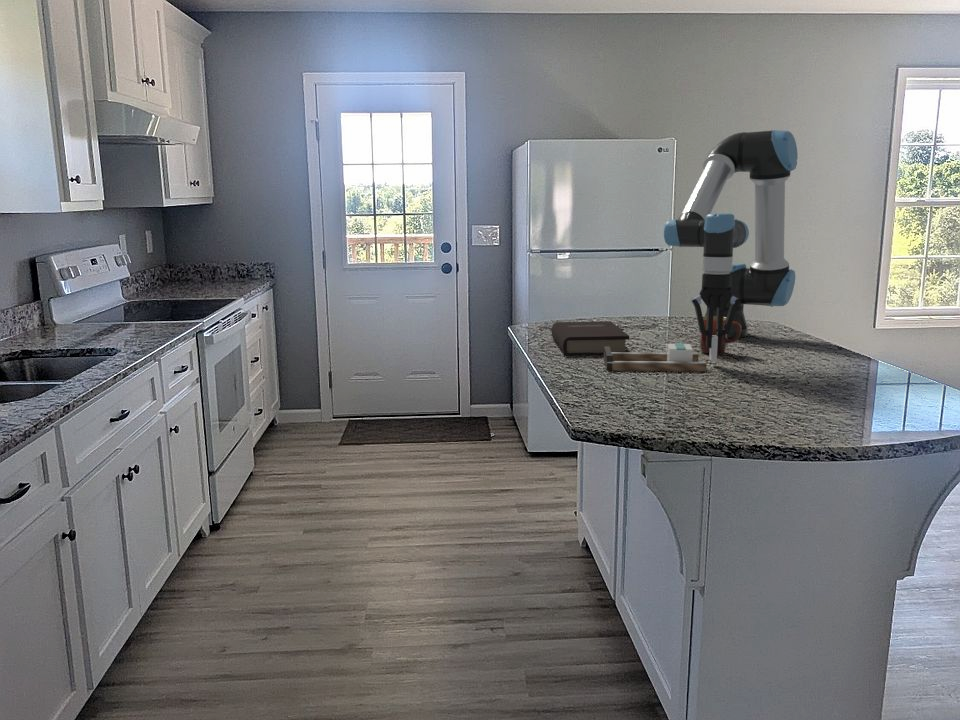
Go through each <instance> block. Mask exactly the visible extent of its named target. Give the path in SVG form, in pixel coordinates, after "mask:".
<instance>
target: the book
mask: <svg viewBox="0 0 960 720" xmlns="http://www.w3.org/2000/svg"><path fill="white" fill-rule="evenodd" d="M551 337H552V339H553V340H554V342H555V344H557V345H558V347H559V349H560V350H561V351H562V353H563V354H564V355H565V356H566V357H570V356H573V357H574V356H576V357H577V356H604V346H609V347H610V350H611V352H629V351H628V350H627V349H626V340H630V335H629V334H627V332H625V331H624V330H622V329H621V328H620V327H619V326H617V325H616V324H615V323H614V322H613V321H610V320H609V321H607V320H605V321H604V320H603V321H559V322H558V321H557V322H555V323H553V324H552V325H551Z"/></svg>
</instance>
